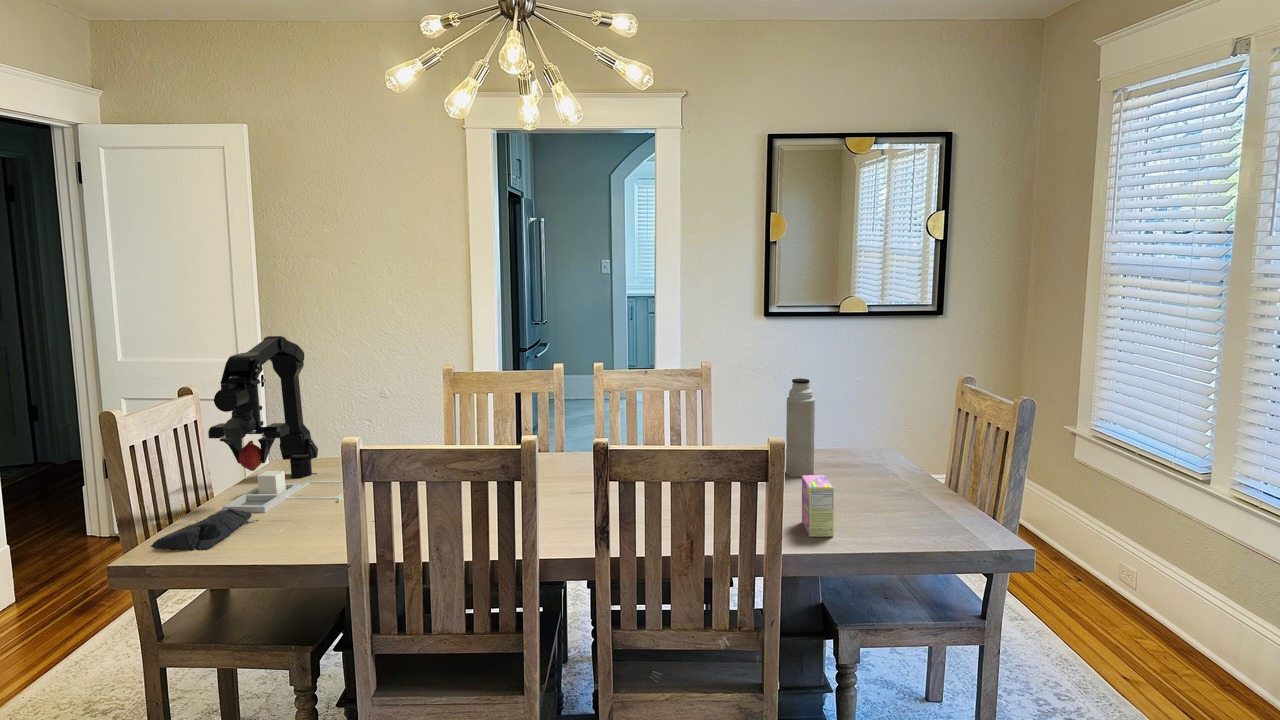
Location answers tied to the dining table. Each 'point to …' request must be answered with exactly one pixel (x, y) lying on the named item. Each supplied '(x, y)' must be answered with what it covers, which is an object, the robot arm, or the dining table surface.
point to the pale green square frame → (319, 497)
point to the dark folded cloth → (204, 531)
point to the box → (817, 506)
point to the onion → (250, 456)
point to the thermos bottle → (800, 429)
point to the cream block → (271, 482)
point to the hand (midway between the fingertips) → (251, 463)
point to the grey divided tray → (261, 500)
